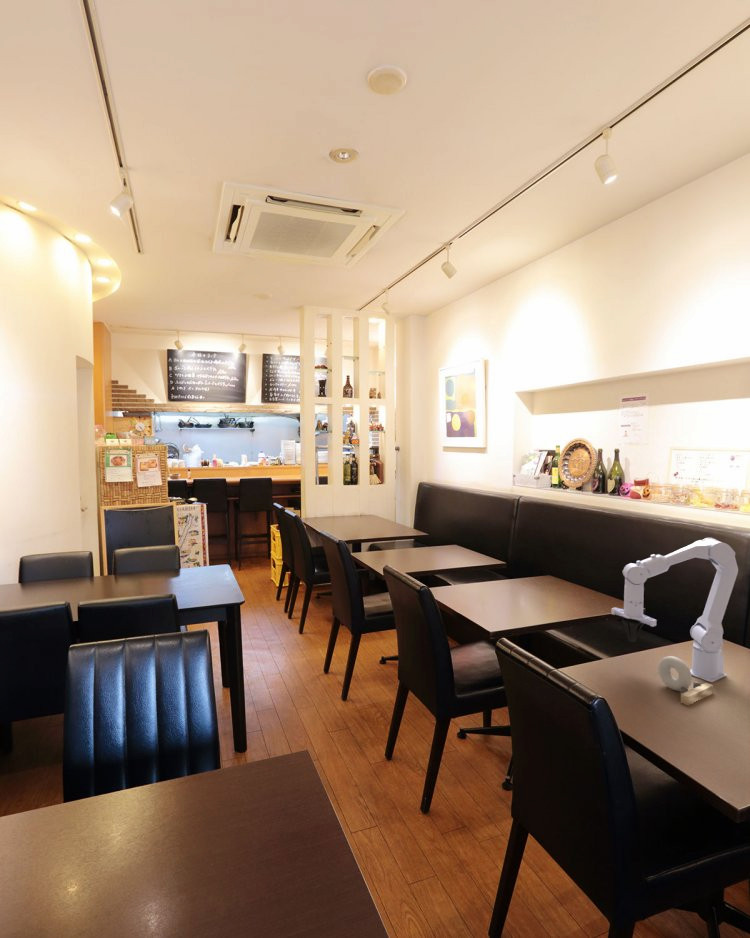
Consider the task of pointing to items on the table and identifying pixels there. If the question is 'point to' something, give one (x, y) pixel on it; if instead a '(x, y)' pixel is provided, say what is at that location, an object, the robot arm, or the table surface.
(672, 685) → the donut
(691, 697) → the locator
